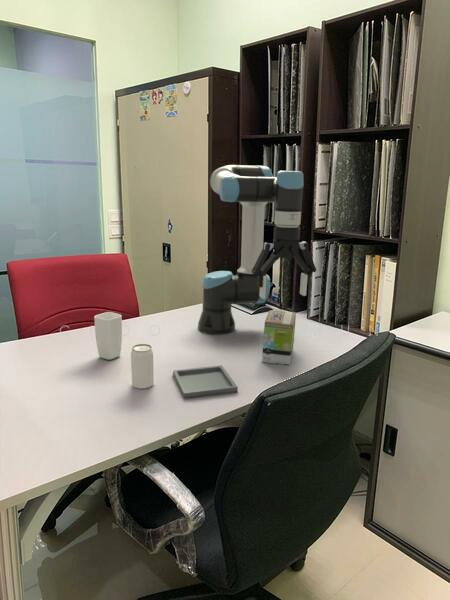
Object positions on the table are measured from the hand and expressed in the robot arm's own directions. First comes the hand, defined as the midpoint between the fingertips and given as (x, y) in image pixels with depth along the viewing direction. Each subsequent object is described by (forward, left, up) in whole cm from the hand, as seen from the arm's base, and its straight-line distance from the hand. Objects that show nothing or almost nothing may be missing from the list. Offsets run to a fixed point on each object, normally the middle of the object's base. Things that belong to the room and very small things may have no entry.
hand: (282, 296), depth 141 cm
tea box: (-15, +7, -27) cm, 32 cm away
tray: (0, -24, -26) cm, 36 cm away
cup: (-28, -50, -27) cm, 64 cm away
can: (-4, -42, -27) cm, 50 cm away
